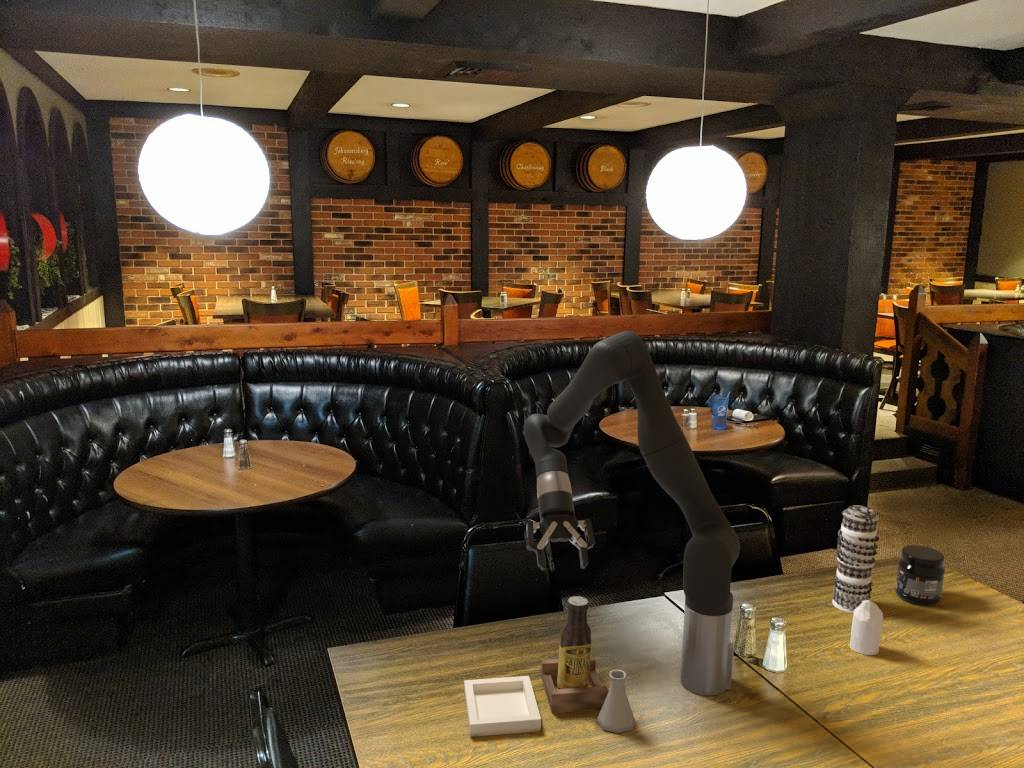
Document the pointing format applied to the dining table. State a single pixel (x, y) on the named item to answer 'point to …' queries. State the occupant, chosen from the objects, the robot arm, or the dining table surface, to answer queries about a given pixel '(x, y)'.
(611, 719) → the flask
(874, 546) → the decorative candle
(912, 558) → the supplement container
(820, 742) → the dining table surface
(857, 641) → the white pointed cylinder
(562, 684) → the sauce bottle
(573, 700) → the holder
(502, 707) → the tray
